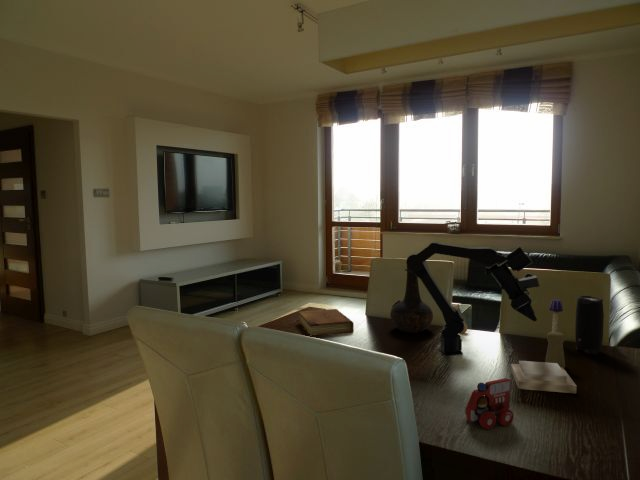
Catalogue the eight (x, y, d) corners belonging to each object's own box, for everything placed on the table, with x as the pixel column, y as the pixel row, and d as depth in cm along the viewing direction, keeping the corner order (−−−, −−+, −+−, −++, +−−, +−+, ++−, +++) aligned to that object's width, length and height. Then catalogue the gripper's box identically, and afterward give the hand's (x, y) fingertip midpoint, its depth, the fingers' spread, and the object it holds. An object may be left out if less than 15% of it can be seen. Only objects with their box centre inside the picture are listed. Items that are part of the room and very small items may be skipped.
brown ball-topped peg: (563, 363, 151) (564, 330, 150) (567, 369, 146) (567, 335, 145) (543, 361, 153) (544, 329, 152) (546, 367, 148) (546, 334, 147)
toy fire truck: (458, 420, 113) (458, 379, 112) (499, 411, 117) (499, 372, 116) (476, 433, 106) (476, 389, 106) (519, 424, 110) (519, 382, 110)
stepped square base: (518, 388, 131) (518, 375, 131) (510, 370, 146) (511, 358, 145) (576, 393, 127) (576, 379, 127) (562, 374, 142) (562, 361, 141)
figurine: (471, 335, 185) (471, 306, 184) (456, 335, 184) (456, 306, 183) (463, 329, 193) (463, 301, 192) (449, 330, 192) (449, 302, 192)
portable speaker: (582, 355, 159) (584, 300, 157) (569, 347, 168) (571, 294, 166) (608, 355, 158) (609, 300, 156) (594, 347, 167) (595, 294, 166)
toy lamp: (558, 341, 175) (559, 298, 174) (564, 345, 170) (565, 301, 169) (545, 341, 175) (546, 298, 174) (550, 344, 171) (551, 301, 169)
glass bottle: (401, 322, 206) (401, 261, 204) (439, 328, 196) (439, 263, 194) (382, 331, 192) (382, 266, 190) (422, 338, 181) (423, 269, 179)
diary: (353, 334, 191) (353, 320, 191) (310, 338, 187) (310, 324, 186) (338, 320, 213) (337, 308, 213) (299, 323, 209) (298, 311, 208)
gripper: (529, 270, 144) (560, 311, 142) (525, 262, 162) (553, 299, 159) (498, 288, 148) (528, 329, 146) (498, 279, 165) (524, 315, 163)
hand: (534, 317), depth 153 cm, fingers open, 9 cm apart
